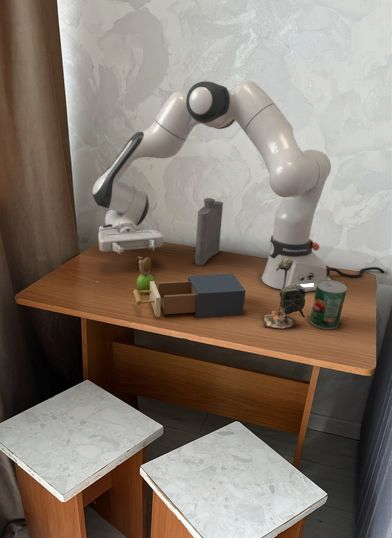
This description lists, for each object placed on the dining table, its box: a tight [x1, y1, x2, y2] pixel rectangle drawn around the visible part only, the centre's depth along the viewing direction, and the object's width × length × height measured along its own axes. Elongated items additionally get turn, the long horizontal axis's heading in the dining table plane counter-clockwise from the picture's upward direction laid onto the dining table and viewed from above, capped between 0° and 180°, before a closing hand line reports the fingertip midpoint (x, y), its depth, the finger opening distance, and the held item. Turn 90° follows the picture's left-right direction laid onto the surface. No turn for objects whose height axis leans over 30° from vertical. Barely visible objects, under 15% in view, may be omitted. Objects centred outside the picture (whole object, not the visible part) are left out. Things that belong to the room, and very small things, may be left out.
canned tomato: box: [309, 279, 348, 330], centre depth 134 cm, size 8×8×11 cm
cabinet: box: [187, 273, 246, 319], centre depth 139 cm, size 13×11×7 cm
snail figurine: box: [136, 256, 156, 291], centre depth 144 cm, size 5×6×12 cm
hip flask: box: [194, 197, 224, 266], centre depth 167 cm, size 16×4×20 cm, turn 155°
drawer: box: [132, 280, 197, 318], centre depth 136 cm, size 17×10×6 cm, turn 104°
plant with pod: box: [262, 256, 306, 330], centre depth 130 cm, size 8×11×20 cm
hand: (137, 249), depth 149 cm, fingers open, 8 cm apart
